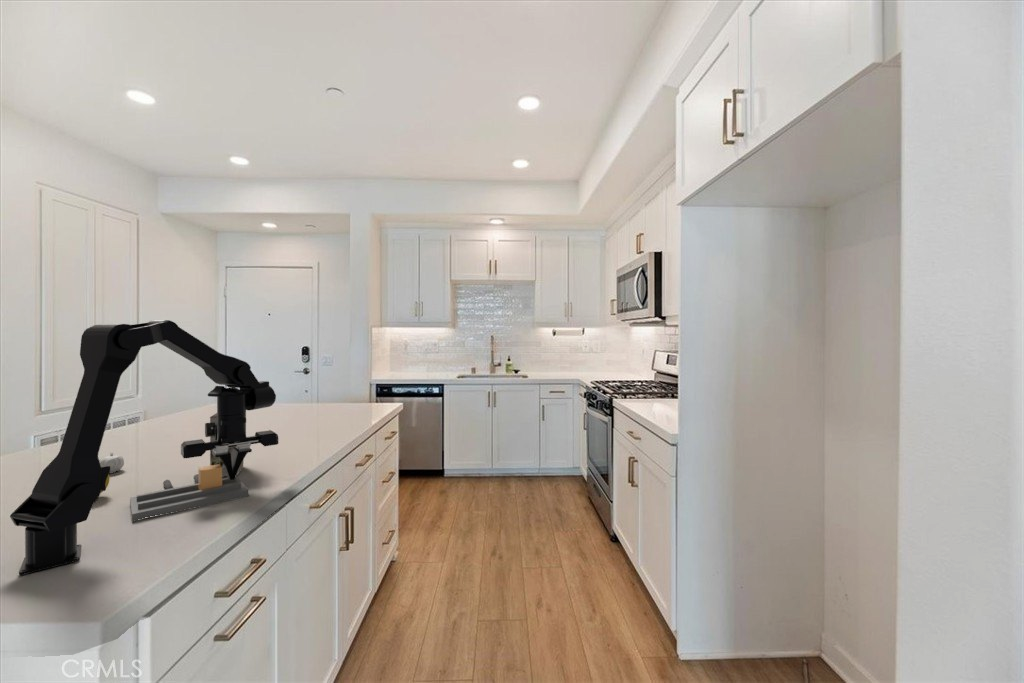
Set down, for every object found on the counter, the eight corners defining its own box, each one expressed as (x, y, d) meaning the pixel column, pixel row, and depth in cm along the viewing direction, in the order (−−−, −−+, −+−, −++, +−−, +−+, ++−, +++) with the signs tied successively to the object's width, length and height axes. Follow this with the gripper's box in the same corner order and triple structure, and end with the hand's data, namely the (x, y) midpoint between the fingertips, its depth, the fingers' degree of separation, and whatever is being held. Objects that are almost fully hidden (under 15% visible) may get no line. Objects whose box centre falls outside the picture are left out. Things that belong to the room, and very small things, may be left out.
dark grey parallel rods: (206, 489, 102) (206, 483, 102) (167, 497, 97) (167, 491, 97) (199, 478, 110) (199, 473, 110) (162, 485, 105) (162, 479, 105)
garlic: (105, 470, 117) (105, 451, 117) (129, 468, 119) (129, 449, 119) (91, 476, 111) (91, 457, 111) (116, 474, 113) (116, 455, 113)
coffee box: (238, 475, 112) (238, 415, 112) (209, 479, 109) (209, 417, 109) (244, 466, 120) (243, 409, 120) (217, 469, 118) (216, 411, 118)
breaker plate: (248, 495, 98) (248, 485, 98) (132, 521, 84) (131, 509, 84) (237, 483, 106) (237, 473, 106) (130, 504, 92) (129, 493, 92)
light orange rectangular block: (222, 488, 98) (222, 467, 98) (200, 493, 95) (200, 471, 95) (219, 485, 100) (219, 464, 100) (198, 489, 97) (198, 467, 97)
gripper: (267, 405, 113) (267, 464, 113) (178, 414, 100) (178, 480, 100) (278, 410, 104) (279, 474, 104) (183, 420, 92) (183, 492, 92)
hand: (231, 479), depth 100 cm, fingers closed
